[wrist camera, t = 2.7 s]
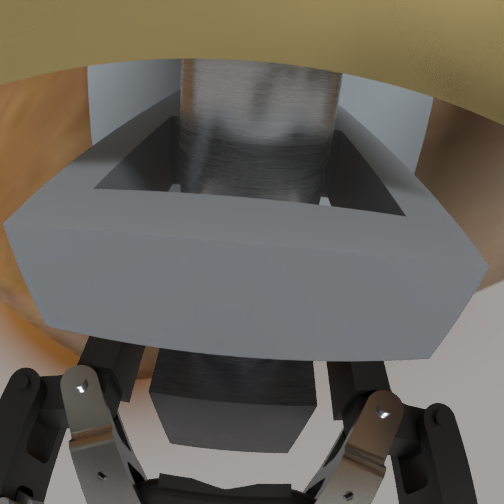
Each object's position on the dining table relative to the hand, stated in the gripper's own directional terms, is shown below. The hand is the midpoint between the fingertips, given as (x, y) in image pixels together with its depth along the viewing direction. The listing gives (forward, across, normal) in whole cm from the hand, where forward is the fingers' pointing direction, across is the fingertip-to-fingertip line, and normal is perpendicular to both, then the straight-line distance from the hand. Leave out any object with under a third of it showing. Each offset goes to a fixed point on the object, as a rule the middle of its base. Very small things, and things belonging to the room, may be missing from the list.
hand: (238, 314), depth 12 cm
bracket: (+8, 0, -8) cm, 11 cm away
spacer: (-1, 0, -10) cm, 10 cm away
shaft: (0, 0, -6) cm, 7 cm away
